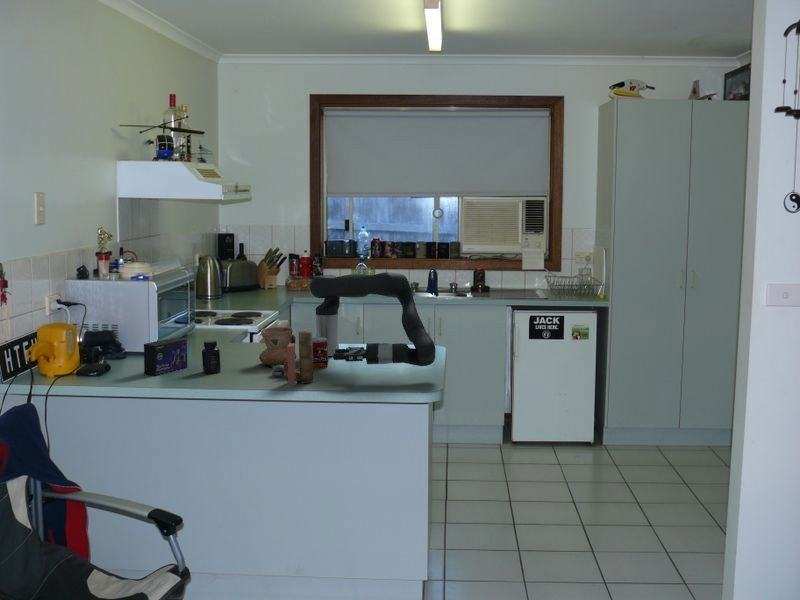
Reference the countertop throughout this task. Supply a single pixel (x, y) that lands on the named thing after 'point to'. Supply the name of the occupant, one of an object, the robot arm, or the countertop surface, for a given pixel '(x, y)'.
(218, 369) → the supplement bottle
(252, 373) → the countertop surface
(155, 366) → the box
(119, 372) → the countertop surface
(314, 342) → the canned food
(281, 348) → the ceramic jug
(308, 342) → the brown l-shaped piece
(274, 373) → the pivot disc
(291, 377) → the block
